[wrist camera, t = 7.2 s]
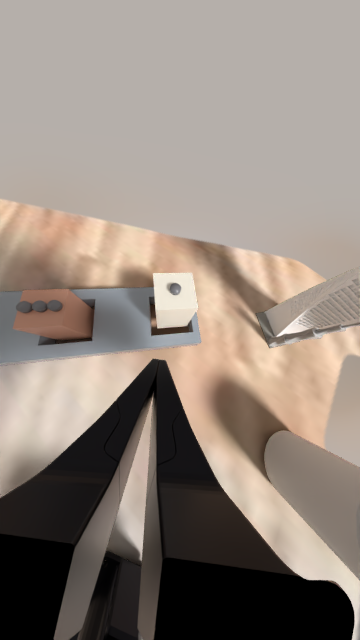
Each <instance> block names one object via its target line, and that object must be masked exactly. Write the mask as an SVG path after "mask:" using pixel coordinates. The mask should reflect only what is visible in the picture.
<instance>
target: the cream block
mask: <svg viewBox="0 0 360 640" xmlns="http://www.w3.org/2000/svg"><path fill="white" fill-rule="evenodd" d="M153 280H154V295H155V310H156V320H157V328H169V327H182V326H187V325H188V323H189V322H190V320H191V318H192V317H193V315H194V314H195V312H196V311H197V309H198V304H197V298H196V292H195V286H194V281H193V275H192V273H153Z"/></svg>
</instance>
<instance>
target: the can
mask: <svg viewBox="0 0 360 640" xmlns="http://www.w3.org/2000/svg"><path fill="white" fill-rule="evenodd" d="M264 460H265V468H266V472H267V475H268V478H269V480H270V482H271V483H272V485H273V487H274V488H275V489H276V490H277V491H278V492H279V493H280V495H281V496H282V497H283V498H284V499H285V500H286V501H287V502H288V503H289V504H290V505H291V506H292V508H293V509H294V510H295V511H296V512H297V513H298V514H299V515H300V516H301V517H302V518H303V519H304V521H305V522H306V523H307V524H308V525H309V526H310V527H311V528H312V529H313V530H314V531H315V532H316V534H317V535H318V536H319V537H320V538H321V539H322V540H323V541H324V542H325V543H326V544H327V545H328V546H329V548H330V549H331V550H332V551H333V552H334V553H335V554H336V555H337V556H338V557H339V558H340V559H341V561H342V562H343V563H344V564H345V565H346V566H347V567H348V568H349V569H350V570H351V571H352V572H353V574H354V575H355V576H356V577H357V578H358V579H359V580H360V467H358V466H356V465H354V464H352V463H350V462H348V461H346V460H344V459H342V458H340V457H339V456H337V455H334V454H333V453H331V452H329V451H327V450H325V449H323V448H321V447H319V446H317V445H315V444H313V443H311V442H309V441H307V440H305V439H304V438H302V437H300V436H298V435H296V434H294V433H292V432H290V431H283V430H282V431H279V432H276V433H274V434H273V435H272V436H271V437H270V438H269V440H268V442H267V444H266V448H265V453H264Z"/></svg>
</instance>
